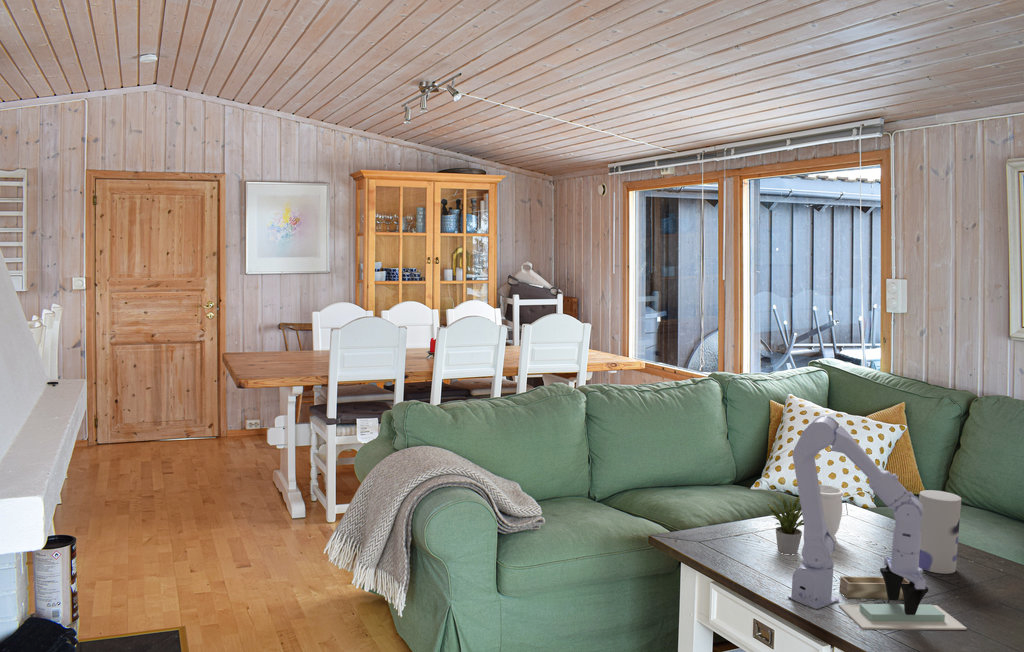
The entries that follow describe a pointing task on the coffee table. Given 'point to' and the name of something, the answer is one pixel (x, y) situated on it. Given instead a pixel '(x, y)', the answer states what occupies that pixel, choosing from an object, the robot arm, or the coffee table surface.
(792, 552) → the house plant
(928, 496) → the container
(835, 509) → the white vase
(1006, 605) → the coffee table surface
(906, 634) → the coffee table surface
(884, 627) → the mat
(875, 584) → the pencil box
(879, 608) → the lid
